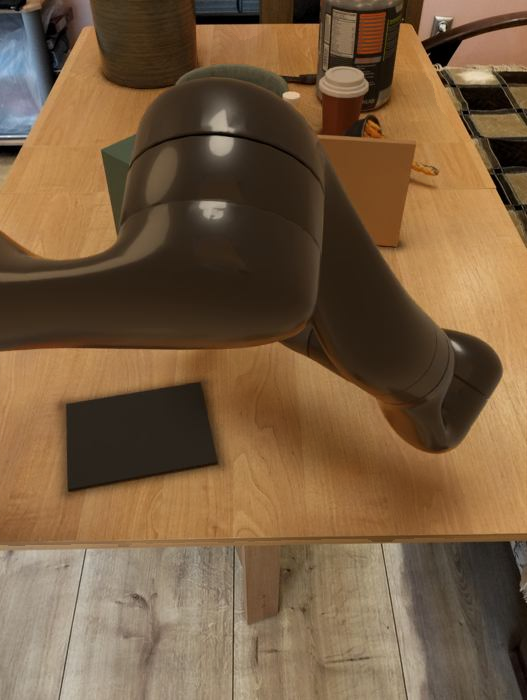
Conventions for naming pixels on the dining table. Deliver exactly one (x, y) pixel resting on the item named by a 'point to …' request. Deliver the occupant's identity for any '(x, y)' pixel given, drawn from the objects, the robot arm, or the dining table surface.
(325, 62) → the supplement tub
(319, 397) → the dining table surface
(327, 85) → the coffee cup
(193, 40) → the planter
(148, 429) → the mat
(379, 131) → the fried food
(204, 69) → the bowl
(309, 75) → the knife
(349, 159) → the cupboard door
